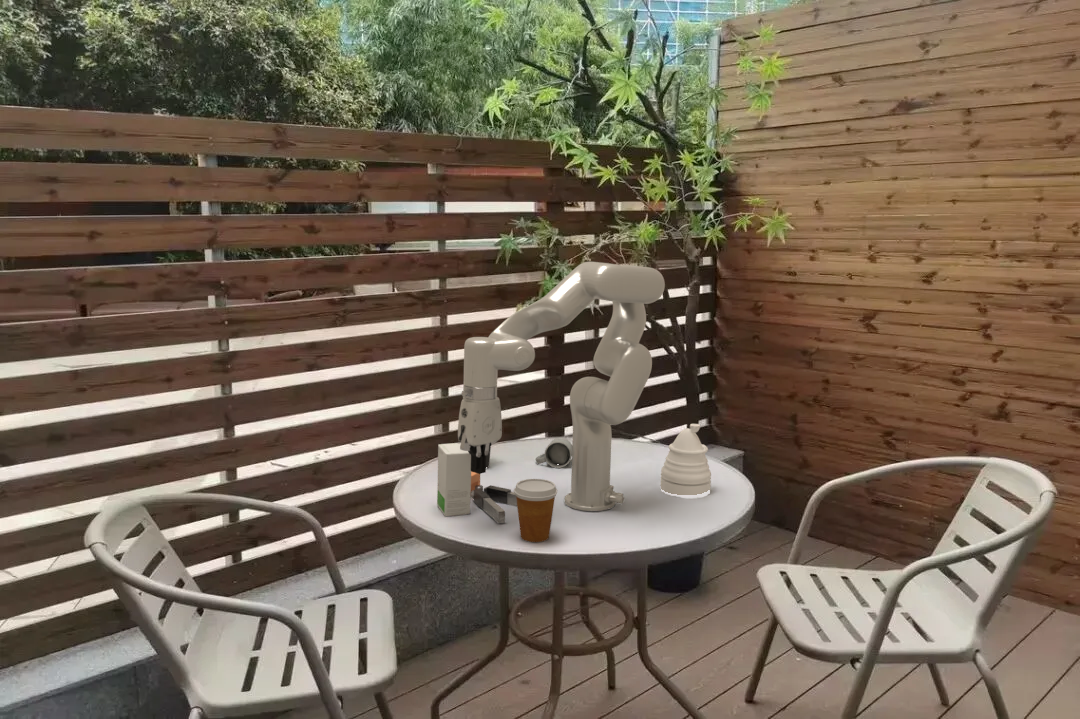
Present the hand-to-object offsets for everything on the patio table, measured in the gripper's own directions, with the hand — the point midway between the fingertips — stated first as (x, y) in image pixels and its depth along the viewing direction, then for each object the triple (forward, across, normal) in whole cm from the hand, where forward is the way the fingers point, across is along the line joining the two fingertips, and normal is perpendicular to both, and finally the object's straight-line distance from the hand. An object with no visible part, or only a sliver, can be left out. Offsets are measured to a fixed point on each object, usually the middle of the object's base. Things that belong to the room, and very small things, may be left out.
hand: (478, 471), depth 184 cm
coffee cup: (+12, +31, +31) cm, 46 cm away
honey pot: (+12, +54, -23) cm, 60 cm away
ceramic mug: (+12, +48, +16) cm, 52 cm away
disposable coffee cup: (+13, +4, -14) cm, 20 cm away
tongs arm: (+12, +8, +4) cm, 15 cm away
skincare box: (+13, +3, +11) cm, 17 cm away
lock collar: (+12, +12, +15) cm, 23 cm away
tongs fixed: (+12, +15, +3) cm, 20 cm away
